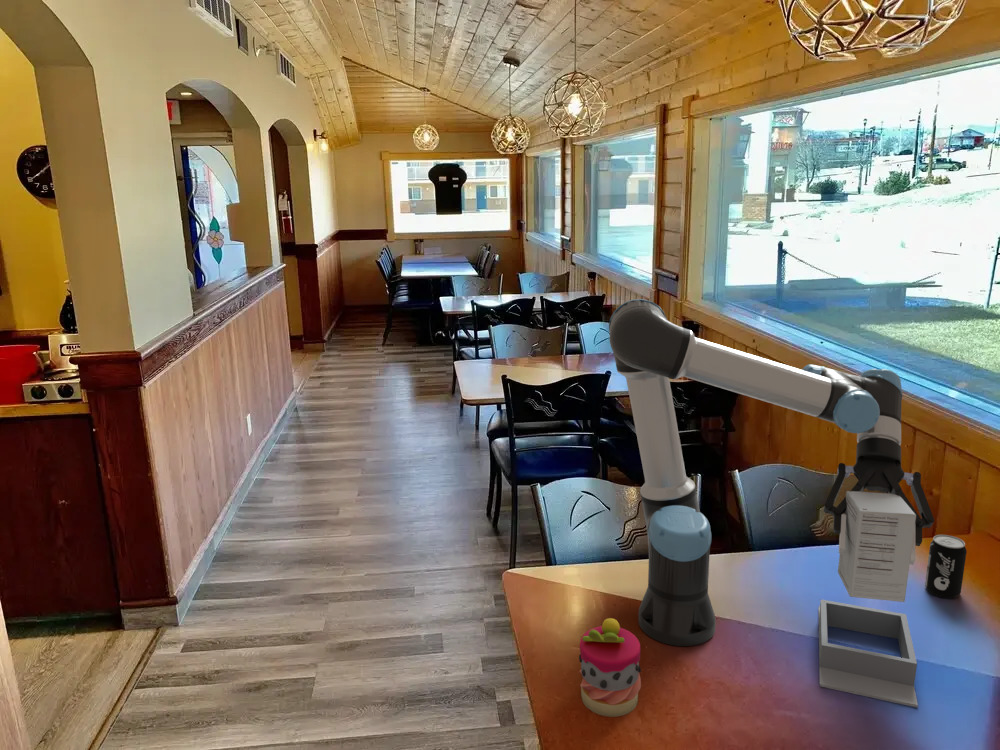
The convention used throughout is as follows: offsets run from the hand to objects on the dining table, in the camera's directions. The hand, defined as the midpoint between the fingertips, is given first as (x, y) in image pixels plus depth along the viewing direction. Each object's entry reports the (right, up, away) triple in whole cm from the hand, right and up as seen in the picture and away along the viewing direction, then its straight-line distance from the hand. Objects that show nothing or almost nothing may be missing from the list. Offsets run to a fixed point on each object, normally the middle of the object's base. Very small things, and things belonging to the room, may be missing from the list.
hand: (876, 556), depth 125 cm
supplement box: (+1, -7, +5) cm, 8 cm away
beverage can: (+29, -15, +27) cm, 42 cm away
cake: (-47, -24, -2) cm, 53 cm away
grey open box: (+2, -20, +8) cm, 22 cm away
